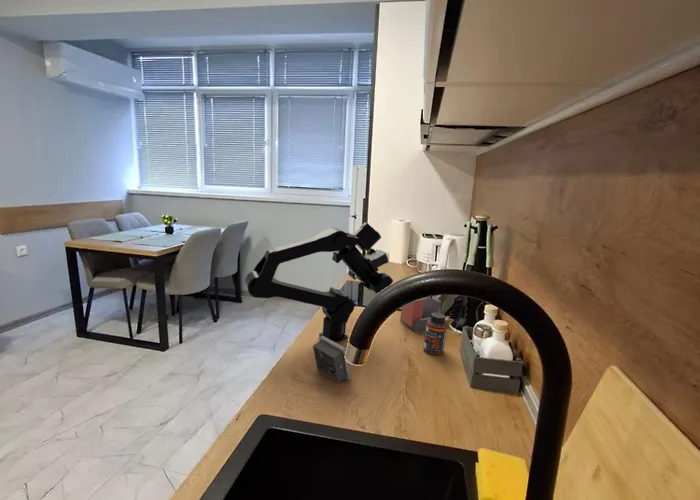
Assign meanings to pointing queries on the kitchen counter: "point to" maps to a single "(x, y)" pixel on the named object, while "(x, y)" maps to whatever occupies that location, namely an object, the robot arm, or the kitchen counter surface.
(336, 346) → the electrical switch
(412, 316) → the pink block with dome
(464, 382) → the kitchen counter surface
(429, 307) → the housing
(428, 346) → the supplement bottle
